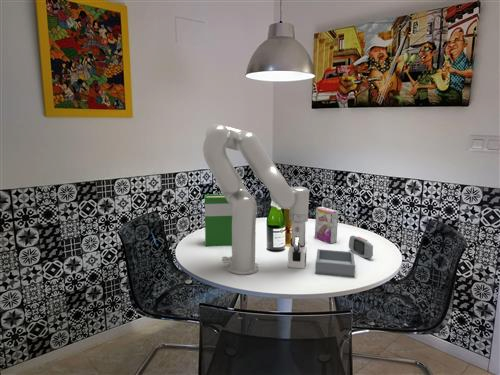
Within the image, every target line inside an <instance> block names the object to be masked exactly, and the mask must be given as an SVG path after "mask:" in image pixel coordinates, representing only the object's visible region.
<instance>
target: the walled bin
mask: <svg viewBox="0 0 500 375" xmlns="http://www.w3.org/2000/svg"><path fill="white" fill-rule="evenodd" d="M354 254H355V253H354V252H353V251H346V250H345V251H343V250H331V249H322V248H321V249H319V248H317V250H316V258H315V275H323V276H325V275H326V276H334V277H344V278H354V279H355V275H356V274H355V272H356V263H355V262H356V261H355V255H354Z"/></svg>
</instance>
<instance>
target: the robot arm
mask: <svg viewBox="0 0 500 375" xmlns="http://www.w3.org/2000/svg"><path fill="white" fill-rule="evenodd" d="M202 146H203V148H202V153H203V158H204V161H205V163H206V165H207V168H209V170H210V172H211V174H212V176H213V177H214V179H215V183H216V185H217V187H218V189H220V190H219V191H220V192H221V193H222V194H223V195H224V197H225V198H226V200H227V201H228V203H229V205H230V206H231V208H232V211H233V215H232V246H231V256H222V258H221V261H222V262H223V264H228V265H227V269H228V271H229V272H230V273H232V274H235V275H240V276H241V275H243V276H244V275H251V274H256V273H257V272H258V271H259V269H260V265H259V264H258V263H257V262H256V225H257V223H256V221H257V214H258V206H257V201H256V198H254V196H253V195H252V194H250V193H249V191H248V190H247V188H246V186H245V185H244V183H243V180H242V177H241V175H240V173H239V172H238V171H237V169H236V168H235V166H234V165H233V163H232V162H231V159H230V158H229V155H228V154H227V149H229V150H233V151H238V152H239V153H240V154H241V155H242V157H243V158H244V160H245V161H246V163H247V165H248V166H249V167H250V169H251V170H252V172H253V174H254V175H255V176H256V177H257V179H259V181H261V183H262V184H263V185H265V187H266V188H267V189H268V191H269V197H270V199H271V201H272V202H273V203H274V204H276V205H277V206H278V207H279V208H281V209H284V210H288V209H289V221H290V222H291V224H292V225H291V238H292V245H294V247H293V261H298V262H300V259H301V252H300V246H301V245H302V246H304V243H305V244H306V223H307V222H308V221H309V202H310V201H309V200H310V192H309V191H310V190H309V188H307V187H305V186H293V187H292V186H290V185H289V183H288V182H287V180H286V179H285V178H284V176H283V174H281V172H280V170H279V169H278V168H277V165H275V163H274V162H273V160H272V159H271V157H270V156H269V154H268V153H267V151H266V150H265V148H264V145H263V144H262V142H261V141H260V139H259V138H258V137H257V135H256V134H255V133H254V132H251V131H247V130H242V129H238V128H235V127H230V126H226V125H223V124H221V123H220V124H219V123H214V124H211V125H210V126H209V127H208V128H207V129H206V131H205V139H204V142H203V145H202ZM298 243H300V245H298ZM298 246H299V247H298Z"/></svg>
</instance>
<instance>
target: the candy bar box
mask: <svg viewBox="0 0 500 375" xmlns="http://www.w3.org/2000/svg"><path fill="white" fill-rule="evenodd" d="M338 221H339V210H335V209H331V208H328V207H325V206H317V207H316V208H315V228H314V230H315V231H314V239H317V240H319V241H322V242H324V243H327V244H329V245H331V244H335V243H337V241H338V240H337V239H338V224H339V222H338Z"/></svg>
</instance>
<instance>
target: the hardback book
mask: <svg viewBox="0 0 500 375" xmlns="http://www.w3.org/2000/svg"><path fill="white" fill-rule="evenodd" d="M232 215H233V211H232V208H231V206H230V205H229V203H228V201H227V200H226V198H225V197H224V195H223V193H222V194H220V193H219V194H217V193H216V194H211V193H210V194H204V236H205V237H204V238H205V239H204V240H205V241H204V242H205V247H232Z"/></svg>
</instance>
